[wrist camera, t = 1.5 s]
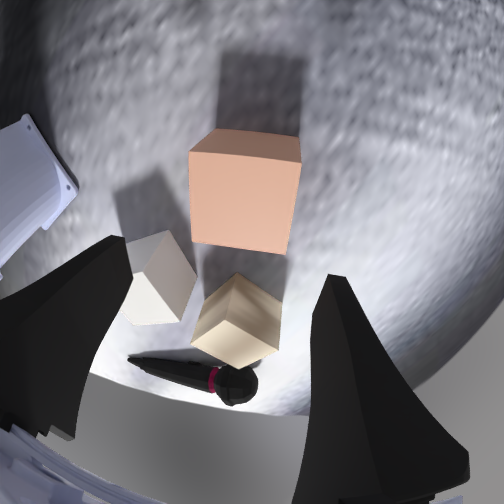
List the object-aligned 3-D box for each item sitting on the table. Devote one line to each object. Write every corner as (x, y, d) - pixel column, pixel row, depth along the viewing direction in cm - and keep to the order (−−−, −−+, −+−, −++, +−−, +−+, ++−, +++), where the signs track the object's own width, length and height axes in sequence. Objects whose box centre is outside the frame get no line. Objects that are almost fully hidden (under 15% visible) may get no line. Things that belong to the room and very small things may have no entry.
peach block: (214, 199, 18) (192, 241, 15) (216, 128, 15) (188, 151, 11) (287, 208, 18) (285, 254, 14) (298, 136, 15) (301, 163, 11)
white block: (125, 243, 22) (96, 282, 18) (169, 228, 20) (142, 271, 17) (153, 284, 25) (133, 325, 21) (197, 276, 23) (180, 321, 19)
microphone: (144, 347, 39) (266, 367, 32) (135, 381, 36) (259, 410, 29) (122, 336, 35) (253, 358, 28) (111, 372, 32) (244, 408, 25)
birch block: (204, 299, 25) (190, 343, 21) (237, 271, 22) (224, 319, 18) (246, 325, 26) (238, 369, 22) (282, 302, 24) (278, 350, 20)
